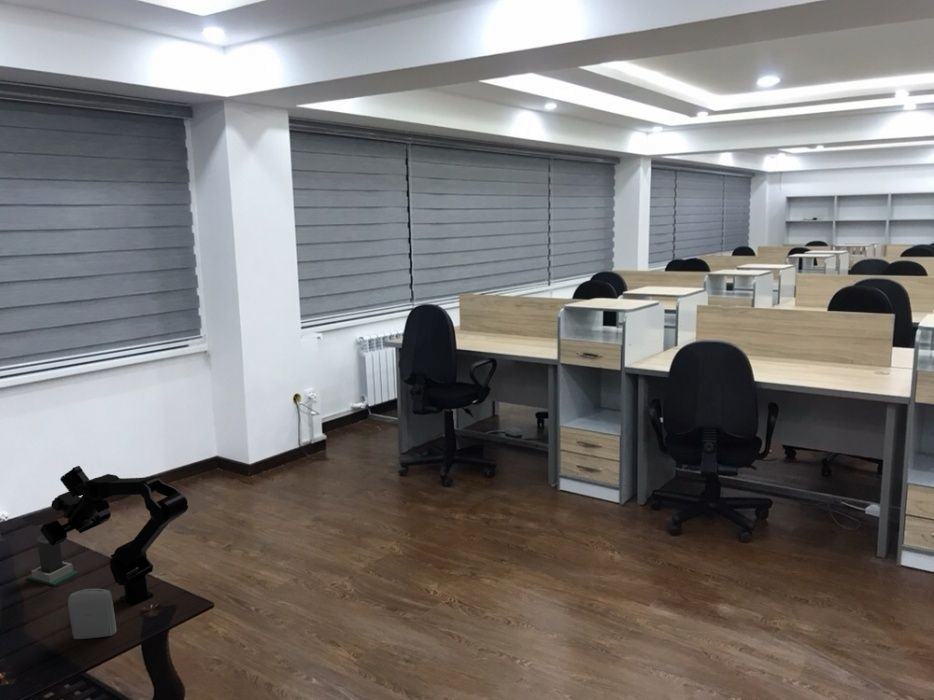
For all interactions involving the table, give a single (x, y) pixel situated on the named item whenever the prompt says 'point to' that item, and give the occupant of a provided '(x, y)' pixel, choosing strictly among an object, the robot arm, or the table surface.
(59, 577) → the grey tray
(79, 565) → the table surface
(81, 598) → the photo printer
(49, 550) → the plug
